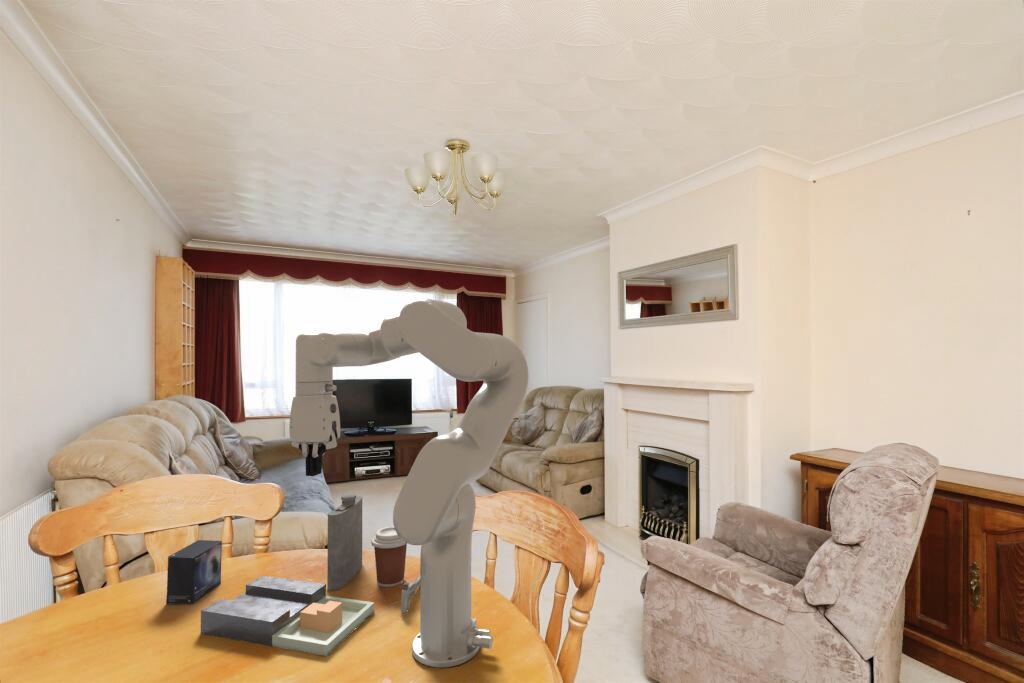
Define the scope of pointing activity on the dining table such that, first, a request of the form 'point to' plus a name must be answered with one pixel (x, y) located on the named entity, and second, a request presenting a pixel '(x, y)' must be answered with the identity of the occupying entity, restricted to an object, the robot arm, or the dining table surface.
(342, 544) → the hip flask
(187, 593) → the small box
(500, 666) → the dining table surface
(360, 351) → the robot arm
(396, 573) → the coffee cup
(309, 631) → the tray
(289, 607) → the slot block
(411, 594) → the caliper
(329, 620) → the chip
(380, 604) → the dining table surface
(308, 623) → the chip
